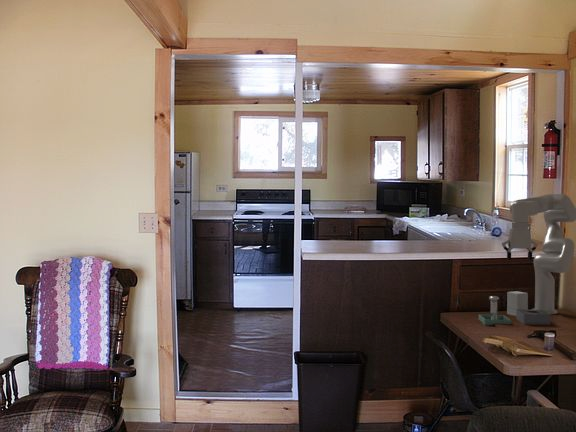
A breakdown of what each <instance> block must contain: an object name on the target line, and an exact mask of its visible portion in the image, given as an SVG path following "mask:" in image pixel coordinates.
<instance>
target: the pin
mask: <svg viewBox="0 0 576 432" xmlns="http://www.w3.org/2000/svg"><path fill="white" fill-rule="evenodd" d="M488 298H489V299H488V300H490V315H491V319H492V320H498V319H497V315H498V301H499V300H500V297H499V296H496V295H490V296H488Z"/></svg>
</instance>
